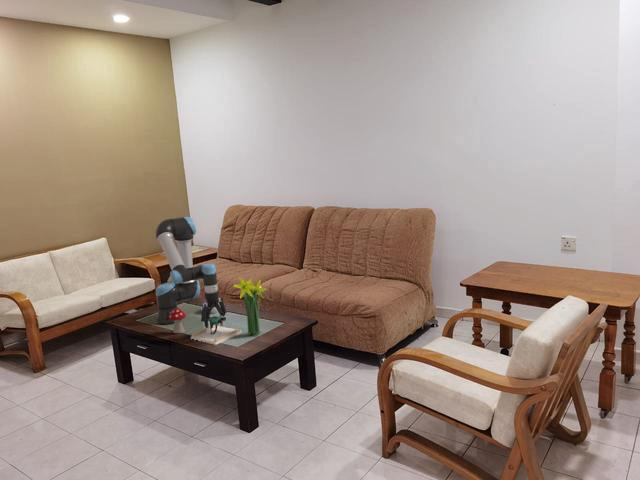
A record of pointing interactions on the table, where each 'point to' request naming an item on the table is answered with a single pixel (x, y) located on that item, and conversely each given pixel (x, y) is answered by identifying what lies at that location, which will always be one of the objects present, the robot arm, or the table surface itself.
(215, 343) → the display riser
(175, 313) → the decorative mushroom
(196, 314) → the table surface
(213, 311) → the lidded jar
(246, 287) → the daffodil flowers
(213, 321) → the binoculars
